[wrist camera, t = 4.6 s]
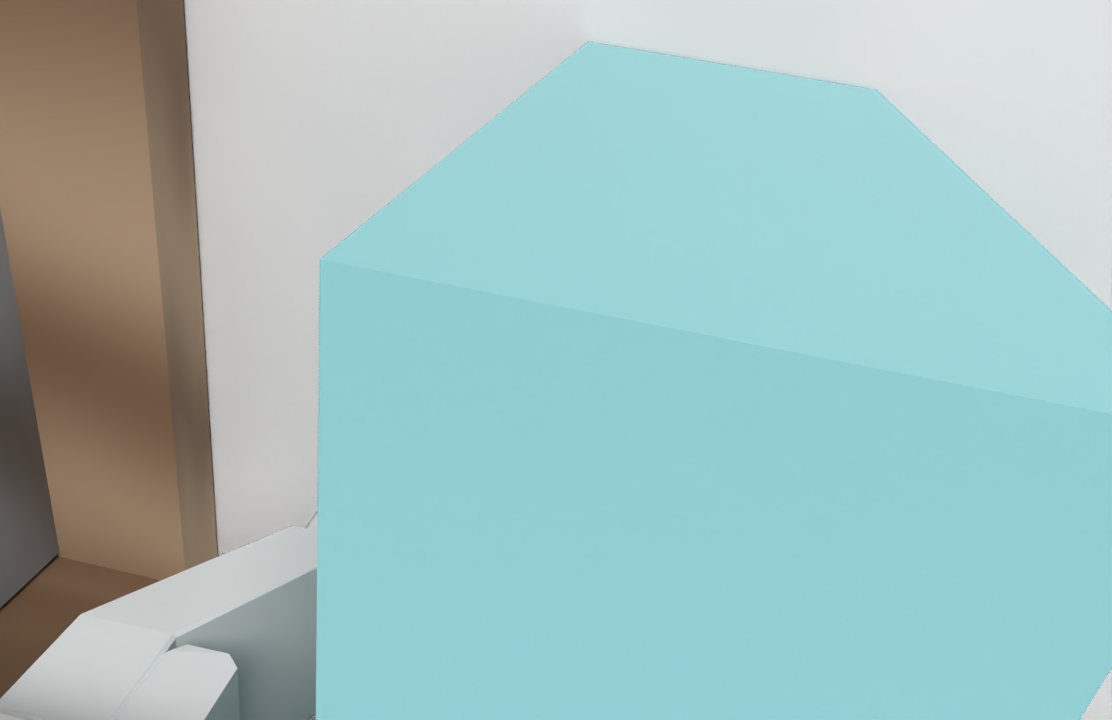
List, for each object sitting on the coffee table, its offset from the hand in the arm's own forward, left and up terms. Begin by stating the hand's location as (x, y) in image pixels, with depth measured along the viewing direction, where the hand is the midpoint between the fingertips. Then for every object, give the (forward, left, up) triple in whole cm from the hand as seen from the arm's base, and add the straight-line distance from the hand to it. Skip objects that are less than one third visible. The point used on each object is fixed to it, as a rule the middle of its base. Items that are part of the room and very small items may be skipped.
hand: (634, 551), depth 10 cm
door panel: (0, 0, -3) cm, 3 cm away
